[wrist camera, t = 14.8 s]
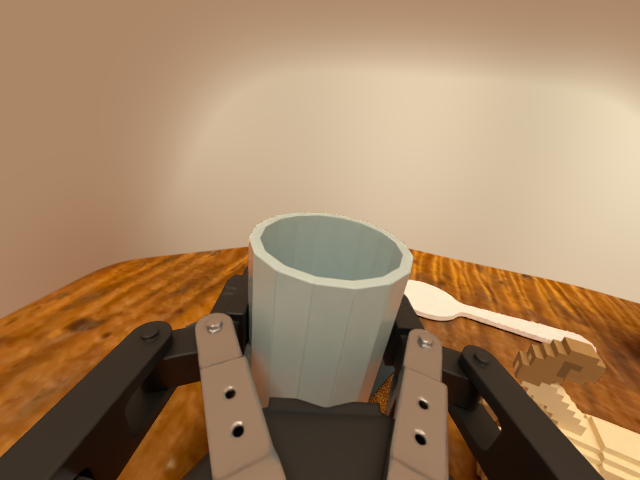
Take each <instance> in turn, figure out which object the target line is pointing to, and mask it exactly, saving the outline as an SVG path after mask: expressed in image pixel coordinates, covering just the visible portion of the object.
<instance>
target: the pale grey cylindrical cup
mask: <svg viewBox="0 0 640 480" xmlns="http://www.w3.org/2000/svg"><path fill="white" fill-rule="evenodd" d="M412 263H413V255H412V254H411V252H410V251H409V249H408V248H407V246H406V245H405V243H404V242H402V241H401V240H400V239H398V238H397V237H395V236H394V235H392V234H391V233H390V232H388V231H386V230H384V229H382V228H379V227H377V226H375V225H372V224H370V223H368V222H365V221H361V220H358V219H354V218H350V217H347V216H342V215H336V214H328V213H320V212H298V213H290V214H284V215H278V216H274V217H271V218H269V219H267V220H265V221H263V222H261V223H259V224H257V225H256V226H255V228H254V230H253V231H252V233H251V235H250V236H249V250H248V344H247V361H248V364H249V367H250V371H251V374H252V377H253V381H254V384H255V387H256V391H257V394H258V397H259V401H260V404H261V407H262V408H264V407H268V404H269V397H278V398H296V399H300V400H303V401H306V402H309V403H312V404H315V405H318V406H322V407H332V406H336V405H340V404H345V403H349V402H368V400H369V397H370V394H371V391H372V388H373V385H374V382H375V379H376V376H377V373H378V370H379V367H380V364H381V361H382V357H383V354H384V351H385V348H386V345H387V342H388V339H389V336H390V333H391V330H392V327H393V324H394V321H395V318H396V315H397V312H398V309H399V306H400V303H401V300H402V297H403V294H404V291H405V288H406V285H407V282H408V279H409V276H410V273H411V269H412Z"/></svg>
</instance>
